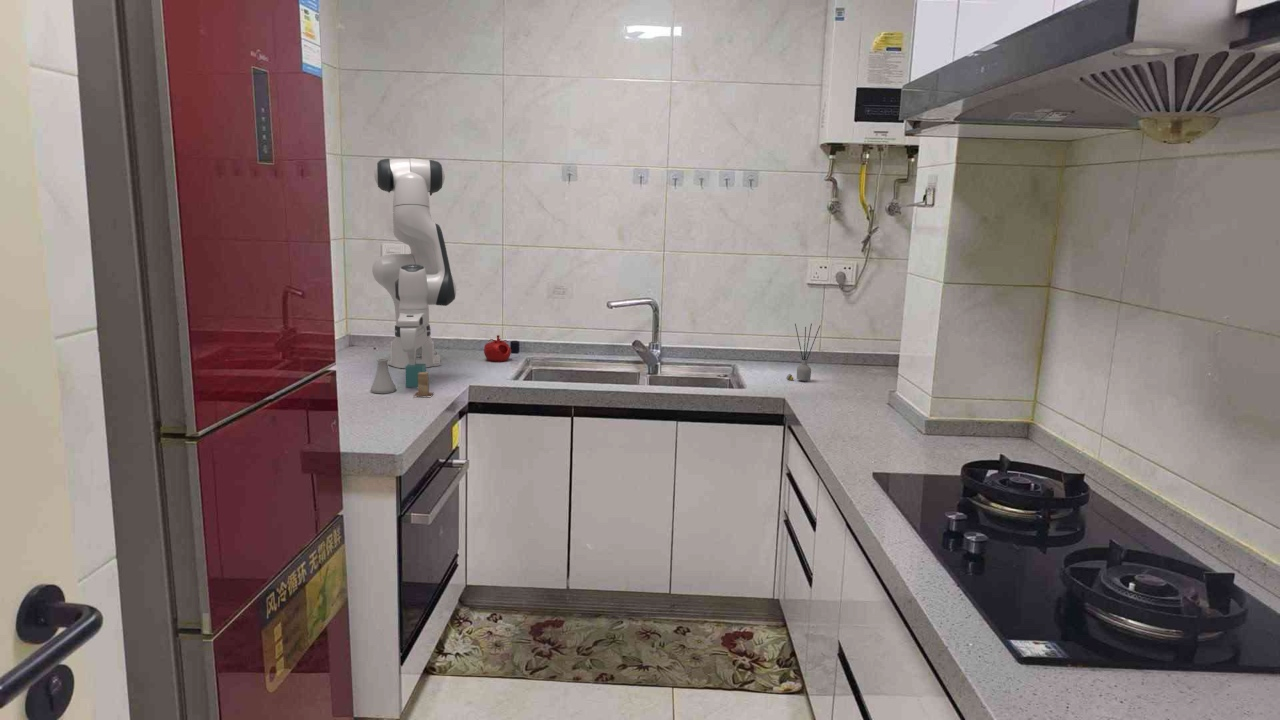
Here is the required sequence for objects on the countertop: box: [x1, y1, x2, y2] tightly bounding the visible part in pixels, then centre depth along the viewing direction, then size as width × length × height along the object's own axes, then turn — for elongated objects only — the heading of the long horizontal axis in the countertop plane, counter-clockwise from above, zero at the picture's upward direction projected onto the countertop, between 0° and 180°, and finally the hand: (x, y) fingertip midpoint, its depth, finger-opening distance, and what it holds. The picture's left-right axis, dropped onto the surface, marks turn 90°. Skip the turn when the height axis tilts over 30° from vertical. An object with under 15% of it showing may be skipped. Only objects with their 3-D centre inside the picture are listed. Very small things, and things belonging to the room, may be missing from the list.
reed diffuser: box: [786, 322, 821, 381], centre depth 281 cm, size 10×7×20 cm
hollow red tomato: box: [483, 334, 512, 362], centre depth 306 cm, size 10×10×9 cm
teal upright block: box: [404, 364, 427, 388], centre depth 261 cm, size 5×5×7 cm
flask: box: [369, 357, 397, 395], centre depth 252 cm, size 7×7×10 cm
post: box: [413, 371, 435, 398], centre depth 248 cm, size 5×5×7 cm
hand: (415, 362), depth 259 cm, fingers open, 8 cm apart
